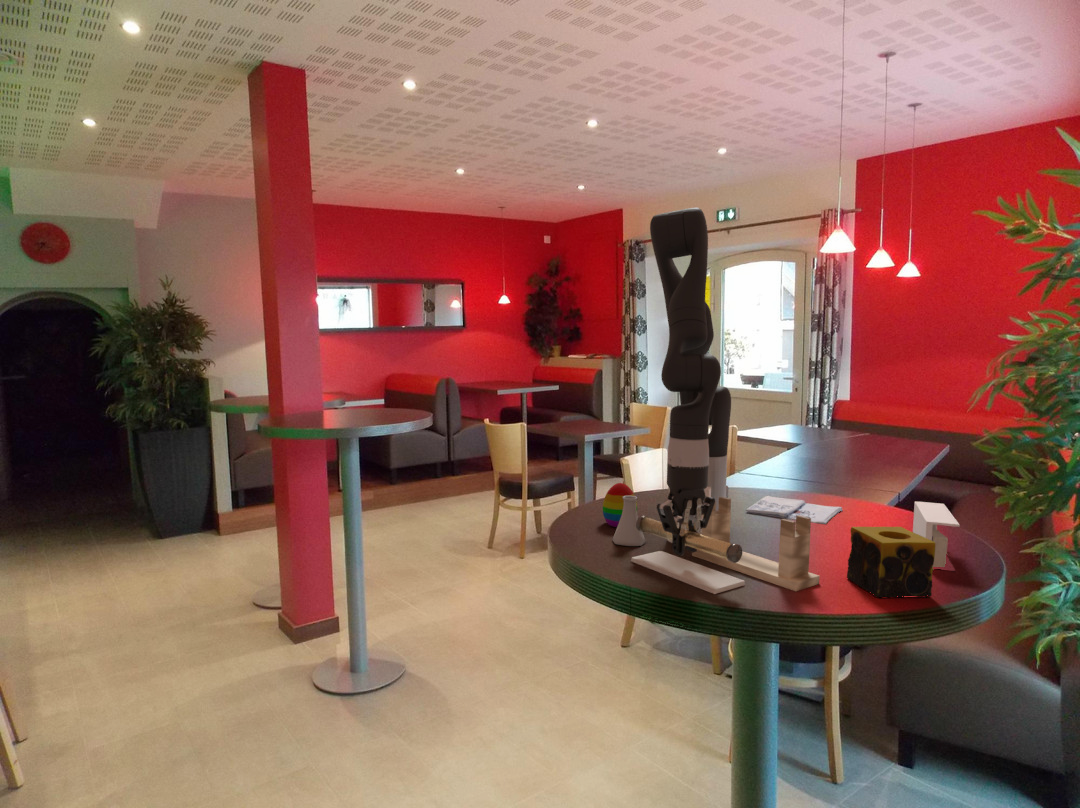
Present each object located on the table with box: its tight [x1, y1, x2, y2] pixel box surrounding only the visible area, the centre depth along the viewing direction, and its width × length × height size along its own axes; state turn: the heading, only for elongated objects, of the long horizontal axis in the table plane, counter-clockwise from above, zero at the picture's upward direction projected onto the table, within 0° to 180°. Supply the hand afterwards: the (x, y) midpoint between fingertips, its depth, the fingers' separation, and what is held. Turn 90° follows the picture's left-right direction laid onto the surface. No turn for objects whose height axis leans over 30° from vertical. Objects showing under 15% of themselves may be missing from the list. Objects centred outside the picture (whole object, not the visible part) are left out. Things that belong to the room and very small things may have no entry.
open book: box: [745, 495, 844, 525], centre depth 177 cm, size 19×20×2 cm
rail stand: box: [691, 497, 821, 592], centre depth 131 cm, size 7×24×12 cm, turn 35°
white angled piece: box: [912, 501, 961, 567], centre depth 140 cm, size 20×6×9 cm, turn 158°
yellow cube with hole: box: [846, 526, 935, 598], centre depth 121 cm, size 10×10×10 cm
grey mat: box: [630, 550, 746, 595], centre depth 128 cm, size 8×21×1 cm, turn 35°
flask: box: [612, 495, 647, 547], centre depth 147 cm, size 7×7×10 cm
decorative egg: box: [602, 482, 638, 528], centre depth 162 cm, size 8×8×10 cm
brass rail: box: [636, 515, 743, 563], centre depth 128 cm, size 24×3×3 cm, turn 35°
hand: (684, 552), depth 128 cm, fingers closed on brass rail, 2 cm apart
